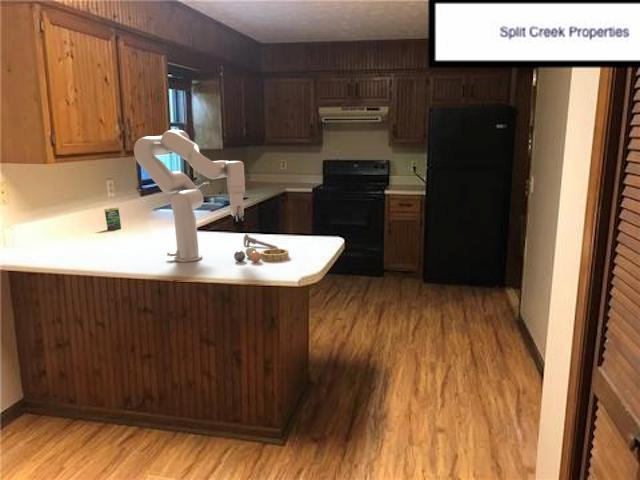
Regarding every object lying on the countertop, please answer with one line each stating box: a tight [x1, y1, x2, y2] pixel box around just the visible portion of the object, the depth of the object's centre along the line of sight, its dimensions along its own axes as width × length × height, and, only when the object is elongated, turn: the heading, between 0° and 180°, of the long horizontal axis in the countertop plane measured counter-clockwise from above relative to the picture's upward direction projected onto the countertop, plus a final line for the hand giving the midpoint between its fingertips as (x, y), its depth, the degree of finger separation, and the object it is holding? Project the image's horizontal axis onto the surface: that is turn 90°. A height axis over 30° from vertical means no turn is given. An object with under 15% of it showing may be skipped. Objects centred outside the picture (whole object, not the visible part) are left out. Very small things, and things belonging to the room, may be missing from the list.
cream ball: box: [245, 246, 257, 258], centre depth 238 cm, size 5×5×5 cm
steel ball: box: [233, 250, 246, 263], centre depth 231 cm, size 5×5×5 cm
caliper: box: [243, 233, 279, 249], centre depth 259 cm, size 20×1×6 cm, turn 63°
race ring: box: [260, 248, 290, 263], centre depth 236 cm, size 12×12×3 cm
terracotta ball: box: [249, 250, 262, 263], centre depth 229 cm, size 5×5×5 cm
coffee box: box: [104, 207, 122, 231], centre depth 317 cm, size 8×3×13 cm, turn 118°
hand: (238, 228), depth 228 cm, fingers open, 9 cm apart
